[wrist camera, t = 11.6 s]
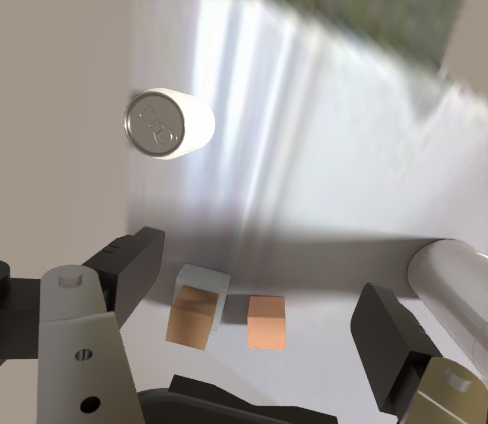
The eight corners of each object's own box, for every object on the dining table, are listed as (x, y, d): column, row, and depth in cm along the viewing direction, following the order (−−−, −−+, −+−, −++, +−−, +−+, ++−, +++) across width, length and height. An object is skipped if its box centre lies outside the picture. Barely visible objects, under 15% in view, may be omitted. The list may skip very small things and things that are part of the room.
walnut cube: (219, 293, 40) (211, 317, 35) (212, 324, 42) (204, 350, 37) (183, 284, 40) (171, 306, 35) (177, 315, 42) (165, 340, 37)
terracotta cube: (284, 296, 44) (285, 318, 39) (284, 325, 45) (285, 349, 41) (250, 295, 44) (247, 316, 40) (251, 324, 46) (248, 348, 41)
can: (188, 159, 39) (153, 176, 28) (155, 119, 38) (104, 118, 27) (226, 128, 37) (205, 131, 26) (193, 84, 36) (155, 68, 25)
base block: (231, 274, 44) (227, 289, 40) (221, 314, 46) (217, 331, 42) (185, 263, 44) (176, 276, 40) (177, 302, 46) (169, 319, 42)
